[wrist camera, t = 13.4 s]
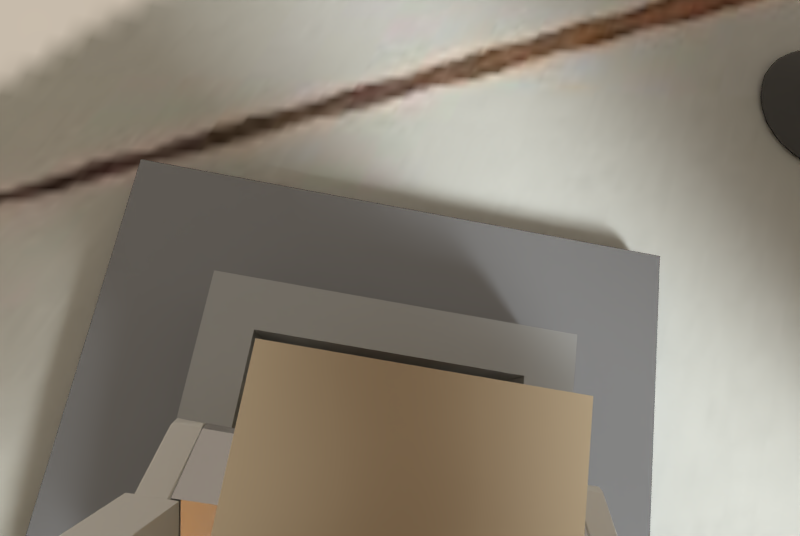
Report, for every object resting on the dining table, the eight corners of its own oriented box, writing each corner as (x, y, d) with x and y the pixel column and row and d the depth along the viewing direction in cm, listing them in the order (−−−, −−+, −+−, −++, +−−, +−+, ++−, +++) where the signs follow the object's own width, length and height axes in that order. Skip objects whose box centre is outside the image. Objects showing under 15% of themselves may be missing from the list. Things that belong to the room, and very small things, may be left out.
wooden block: (464, 413, 15) (593, 396, 8) (441, 602, 14) (567, 801, 7) (295, 385, 15) (255, 338, 8) (256, 575, 14) (162, 750, 6)
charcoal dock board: (640, 266, 20) (719, 223, 16) (614, 858, 15) (713, 1010, 11) (152, 176, 19) (103, 105, 15) (-27, 779, 14) (-168, 915, 10)
